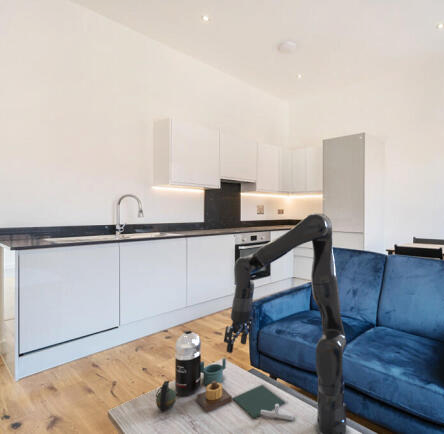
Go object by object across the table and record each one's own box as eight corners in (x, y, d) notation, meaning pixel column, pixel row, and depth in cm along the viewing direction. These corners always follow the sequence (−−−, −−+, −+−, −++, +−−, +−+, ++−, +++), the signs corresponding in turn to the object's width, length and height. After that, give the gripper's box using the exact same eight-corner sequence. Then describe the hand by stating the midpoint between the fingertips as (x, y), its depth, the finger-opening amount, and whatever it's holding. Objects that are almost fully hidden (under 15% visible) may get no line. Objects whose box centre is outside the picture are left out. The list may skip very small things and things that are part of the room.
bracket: (198, 382, 134) (198, 362, 134) (214, 372, 142) (214, 353, 142) (212, 388, 130) (212, 367, 130) (228, 378, 138) (228, 358, 137)
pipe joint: (260, 415, 112) (260, 403, 112) (261, 412, 114) (262, 400, 114) (291, 421, 110) (292, 409, 110) (292, 418, 111) (293, 406, 111)
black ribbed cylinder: (191, 398, 122) (192, 336, 122) (169, 395, 124) (169, 334, 124) (205, 384, 132) (206, 327, 132) (184, 381, 134) (184, 325, 134)
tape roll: (224, 395, 121) (224, 387, 121) (210, 402, 117) (210, 393, 117) (217, 389, 126) (217, 380, 126) (203, 395, 122) (203, 386, 122)
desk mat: (284, 403, 120) (284, 402, 120) (254, 419, 111) (254, 418, 111) (262, 385, 132) (262, 384, 132) (232, 398, 123) (232, 397, 123)
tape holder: (231, 401, 121) (231, 382, 121) (207, 412, 114) (207, 392, 114) (220, 390, 128) (220, 372, 128) (196, 399, 122) (196, 381, 122)
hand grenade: (159, 403, 119) (159, 378, 119) (178, 402, 120) (178, 376, 120) (152, 417, 111) (152, 389, 111) (172, 415, 112) (172, 388, 112)
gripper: (238, 315, 109) (232, 358, 110) (260, 304, 122) (255, 344, 123) (222, 309, 112) (216, 352, 113) (245, 300, 125) (239, 338, 126)
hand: (236, 347), depth 118 cm, fingers open, 8 cm apart
